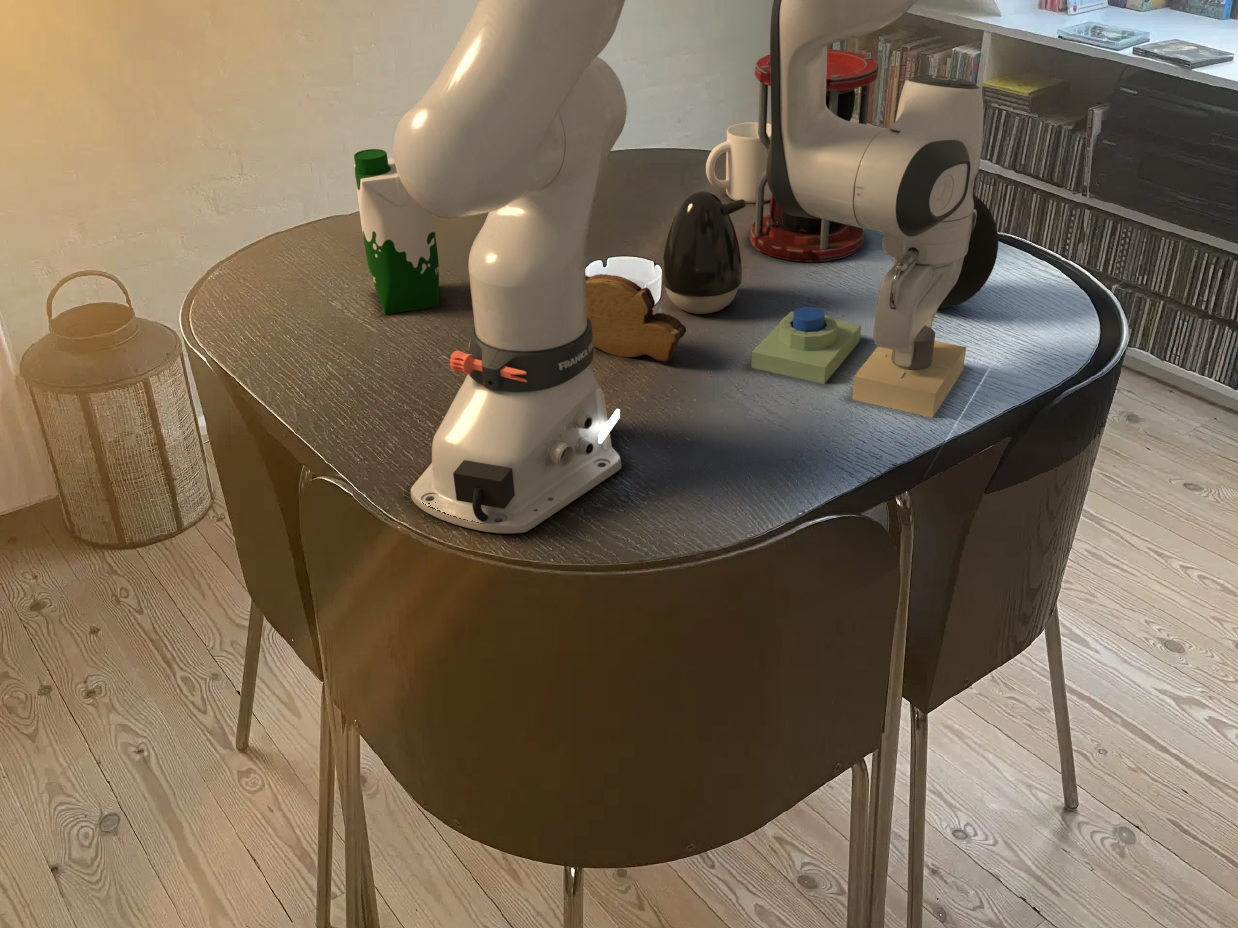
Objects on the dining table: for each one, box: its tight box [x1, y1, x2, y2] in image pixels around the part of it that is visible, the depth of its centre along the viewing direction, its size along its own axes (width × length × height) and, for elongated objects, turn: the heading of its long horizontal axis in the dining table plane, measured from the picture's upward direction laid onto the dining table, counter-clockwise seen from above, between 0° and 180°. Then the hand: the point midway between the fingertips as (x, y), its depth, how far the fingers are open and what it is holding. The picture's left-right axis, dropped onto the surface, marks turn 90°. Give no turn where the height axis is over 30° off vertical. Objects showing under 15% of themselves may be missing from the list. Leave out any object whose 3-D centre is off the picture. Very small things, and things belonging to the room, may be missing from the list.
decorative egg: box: [938, 193, 999, 309], centre depth 145 cm, size 12×12×15 cm
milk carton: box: [353, 148, 440, 315], centre depth 150 cm, size 9×9×20 cm
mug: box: [705, 121, 772, 204], centre depth 182 cm, size 12×8×10 cm
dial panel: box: [852, 340, 967, 418], centre depth 131 cm, size 12×9×3 cm
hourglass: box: [749, 48, 879, 263], centre depth 162 cm, size 16×16×25 cm
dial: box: [891, 326, 936, 370], centre depth 129 cm, size 4×4×4 cm
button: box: [793, 306, 826, 332], centre depth 137 cm, size 4×4×2 cm
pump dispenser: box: [661, 190, 747, 315], centre depth 147 cm, size 10×10×15 cm
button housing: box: [751, 311, 862, 385], centre depth 138 cm, size 12×9×4 cm
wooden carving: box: [586, 273, 687, 362], centre depth 138 cm, size 16×5×10 cm, turn 64°
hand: (912, 352), depth 130 cm, fingers closed on dial, 4 cm apart
